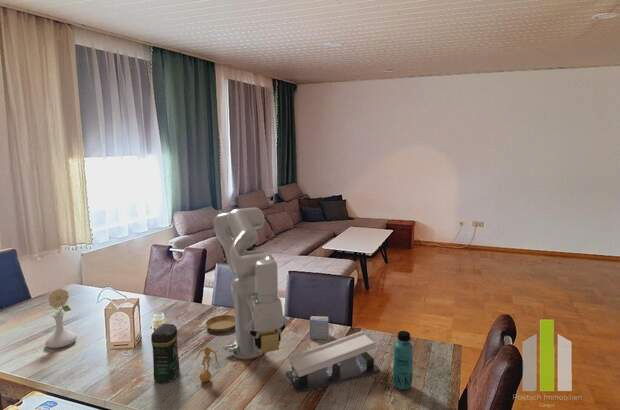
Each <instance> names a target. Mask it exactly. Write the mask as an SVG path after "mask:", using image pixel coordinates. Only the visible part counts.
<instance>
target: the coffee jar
mask: <svg viewBox="0 0 620 410" xmlns="http://www.w3.org/2000/svg"><path fill="white" fill-rule="evenodd" d="M150 337H151V339H150V340H151V345H152V359H153V361H152V362H153V363H152V364H153V381H155V382H156V383H157V382H158V383H167V382H172V381H173V380H174V379H175V378H176V377H177V375H178V374H179V373H180V361H179V358H180V357H179V350H178V348H179V347H178V329H177V326H176V324H174V323H163V324H162V325H159V326H158V327H157V328H156V329H155V330H154V331H153V332H152V333H151V336H150Z"/></svg>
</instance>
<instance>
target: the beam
mask: <svg viewBox="0 0 620 410" xmlns="http://www.w3.org/2000/svg"><path fill="white" fill-rule="evenodd" d="M376 348H377V346H376V341H373V340H371V338H369V337H368V336H367V335H366V334H365V332H364V331H363V330H361V331H358V332H355V333H352V334H349V335H346V336H344V337H341V338H338V339H336V340H334V341H330V342H327V343H324V344H322V345H318V346H316V347H313V348H311V349H308V350H305V351H302V352H300V353H296V354H294V355H291V356H289V357H288V359H289V364H290V365H291V368H292V367H293V368H294V370H295V371H296V373H297V375H298V376H299V377H301V376H304V375H306V374H309V373H311V372H314V371H317V370H319V369H322V368H325V367H327V366H330V365H333V364H335V363H338V362H340V361H343V360H346V359H348V358H351V357H354V356H356V355H359V354H361V353H364V352H367V353H368V351H373V350H375V349H376Z"/></svg>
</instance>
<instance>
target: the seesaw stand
mask: <svg viewBox="0 0 620 410" xmlns="http://www.w3.org/2000/svg"><path fill="white" fill-rule="evenodd" d="M380 372H381V369H380V367H378V365H376V364H375V359H374V357H373V356H372V355H371V354H370V353H368V351H367V352H364V353H361V354H359V355H356V356H354V357H351V358H348V359H346V360H343V361H340V362H338V363H335V364H333V365H330V366H327V367H325V368H322V369H319V370H317V371H314V372H311V373H309V374H306V375H304V376H301V377H299V376H298V375H297V373H296V371H295V370H294V368H293V367H292V366H291V370H288V371H286V372H285V375H286V376H287V378H288V380H289V382H290V384H291V385H292V387H293V388H294V390H295V392H296V393H297V394H301V393H304V392H308V391H312V390H316V389H320V388H323V387H324V388H325V387H328V386H332V385H335V384H339V383H344V382H348V381H351V380H355V379H360V378H363V377H367V376H371V375H374V374H379V373H380Z"/></svg>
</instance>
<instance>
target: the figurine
mask: <svg viewBox="0 0 620 410" xmlns="http://www.w3.org/2000/svg"><path fill="white" fill-rule="evenodd" d="M201 352H204V356H203V359H202V363H201V364H202V365H203V369H202V370H201V372H200V374H199V380H200V381H201V382H203V383H207V382H209V381H210V380H211V378H212V373H211V371H210V369H209V368H210V363H211V362H210V361H211V359H212V358H211V356H210V355H211V353H213V354H214V355H215V356H214V358H215V360H214V361H215V362H216V363H218V357H217V352H216V351H214V350H213V349H212V347H211V346H205V347H204V348H203V349H200V350H199V352H198V353H197V355H196V357H195V360H197V359H198V357H199V355H200V354H201ZM206 366H207V368H206Z"/></svg>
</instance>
